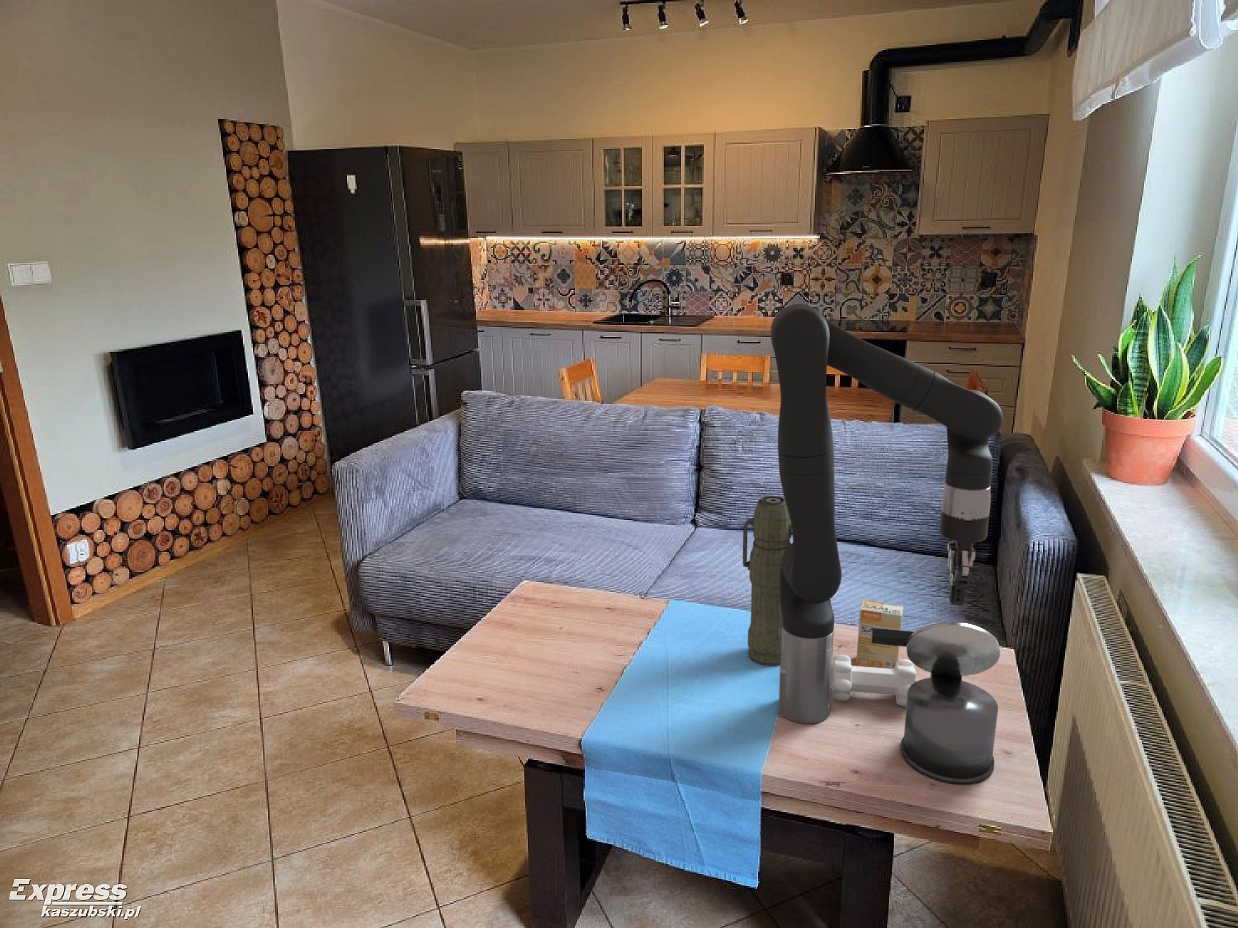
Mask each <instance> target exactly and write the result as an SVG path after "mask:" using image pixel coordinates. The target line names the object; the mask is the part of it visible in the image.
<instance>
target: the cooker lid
mask: <svg viewBox="0 0 1238 928" xmlns="http://www.w3.org/2000/svg"><path fill="white" fill-rule="evenodd" d="M872 643H873V644H884V645H894V646H900V647H906V656H907V657H908V660H910V661H911V662H912V663H913V664H914V666H916V667H917V668H919V669H921V670H923V671H925V672H928V673H930V675H938V676H947V677H957V678H962V679H963V677H966V676H974V675H977V674H980V673H983V672H985V671H987V670H990V669H991V668H993V667H994V666H995V665H996V664H997V662H998V661H999V659H1000V657H1001V656H1000V655H1001V649H1000V644H999V641H998V640H997V638H996V636H994V634H992V633H991V632H989V631H987V630H986V629H984V628H982V627H980V626H977V625H973V624H971V623H970V624H969V623H965V622H953V621H952V622H950V621H948V622H945V621H944V622H936V623H932V624H928V625H924V626H922V627H920V628H918V629H916V630H915V631H912V630H910V631H909V630H902V629H901V630H890V629H879V628H872Z"/></svg>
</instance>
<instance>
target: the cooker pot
mask: <svg viewBox="0 0 1238 928" xmlns="http://www.w3.org/2000/svg"><path fill="white" fill-rule="evenodd" d="M929 675H930V677H927V678H926V677H925V678H922V679H919V680H916V682H914V683H913V684H912V685H911V686H910V687H909V689H908V694H907V706H906V709H905V720H904V733H903V737H902V739H901V742H900V754H901V756H902V758H903V760H904V761H905V763H906V764H907V765H908V766H910V767H911V768H912V769H913V770H914V771H916V772H917V773H919V774H921V775H922V776H924V777H926V778H929V779H930V780H931V779H932V780H934V781H937V782H940V783H944V784H950V785H959V786H960V785H961V786H965V785H966V786H967V785H975V784H978V783H982V782H984V781H985V780H987V779H989V777H991V775H992V774H993V772H994V770H995V758H994V748H995V745H994V744H995V738H996V729H997V722H998V711H999V706H998V705H999V704H998V703H997V701H996V699H995V698H994V696H992V695H991V694H990V693H989V692H987V690H985V689H984V688H981V687H980V686H978V685H976V684H973V683H971V682H968V681H964V680H963V677H962V678H957V677H947V676H938V675H931V674H929Z"/></svg>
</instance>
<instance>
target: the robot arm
mask: <svg viewBox="0 0 1238 928" xmlns="http://www.w3.org/2000/svg"><path fill="white" fill-rule="evenodd" d="M770 326H771V327H770V340H771V346H772V348H773V352H774V357H775V363H776V369H777V376H778V382H779V392H780V405H779V415H778V416H779V417H778V425H777V426H778V428H777V454H778V455H777V456H778V471H779V478H780V479H779V480H780V483H781V489H782V493H783V497H784V499H785V502H786V506H787V509H788V513H789V516H790V520H791V525H792V529H791V533H792V543H791V544H790V545H789V546H788V547H787V549H786V550H785V552H784V554H783V556H782V559H781V566H780V607H781V613H782V645H781V665H780V666H779V667H780V668H779V681H778V683H779V686H778V716H779V717H785V718H787V719H789V720H790V721H792V722H795V723H800V724H817V723H821V722H823V721H825V720H826V719H827V718H828V717H829V716H830V709H831V693H832V692H831V691H832V676H833V672H832V667H833V652H834V651H833V649H834V633H835V631H834V630H835V615H834V614H835V613H834V610H833V606H832V602H831V599H832V598H833V597H834V596H835V595H836V593H837V592H838V591H839V589H840V586H841V583H842V577H843V576H842V575H843V573H842V566H841V559H840V553H839V549H838V542H837V535H836V522H835V520H836V517H835V515H836V512H835V511H836V510H835V509H836V496H835V495H836V491H835V488H836V486H835V451H834V450H835V448H834V447H835V445H834V437H833V426H832V420H831V416H830V415H831V414H830V409H829V408H830V407H829V403H828V396H827V395H828V394H827V375H828V374H827V372H828V371H827V369H828V367H831V368H833V369H835V370H837V371H839V372H841V373H843V374H845V375H847V376H849V377H850V378H852V379H854V380H856V381H858V382H859V383H861V384H863V385H864V386H865V387H867V388H869V389H871V391H872V390H873V391H874V392H876V393H877V394H879V395H881V396H883V397H885V398H887V399H888V400H891V401H893V403H894V402H895V403H897V404H898V405H901V406H903V407H905V408H907V409H910V410H912V411H914V412H916V413H919V414H922V415H925V416H927V417H929V418H931V419H933V420H934V421H936V422H938V423H939V424H941V425H943V426H945V427H946V438H947V439H946V440H947V442H946V444H947V461H946V469H945V470H946V471H945V481H944V482H945V483H944V487H943V491H942V495H941V497H942V499H941V508H940V518H939V519H940V521H939V531H938V532H939V534H940V535H941V536H942V537H944V538H945V539H947V540H949V541H948V542H947V552H948V560H947V566H948V568H947V569H948V574H949V578H948V579H949V582H950V583H949V584H950V585H949V597H948V598H949V602H950V604H951V605H952V606H963V605H964V603H965V594H966V588H969V587H970V584H971V582H972V578H973V575H974V572H975V567H974V565H973V564H974V563H973V562H974V561H975V560H976V549H974V544H975V543H980V542H982V541H984V540H986V539H987V537H988V531H989V521H990V509H991V498H992V496H991V495H992V494H991V487H992V486H991V484H992V476H993V475H992V474H993V466H994V465H993V464H994V463H993V456H992V454H991V452H990V448H989V443H990V442H989V441H990V440H989V439H990V438H991V437H993V436H994V435H996V434H997V433H998V432H999V431H1000V429H1001V427H1002V425H1003V421H1004V417H1003V411H1002V409H1001V406H1000V405H999V404H998V403H997V402H996V401H995V400H993V398H990V397H989V396H988V395H987V394H985V393H984V392H982V391H980V390H975V389H967V388H965V387H963V386H961V385H958V384H956V383H953V382H952V381H950V380H949V379H947V378H946V377H945V376H943V375H941V373H939V372H936V371H934V370H932V369H930V368H927V367H925V366H923V365H921V364H919V363H917V362H915V361H912V360H909V359H907V358H905V357H902V356H900V355H899V354H898V355H897V354H895V353H893V352H892V351H891V352H890V351H888V350H886V349H884V348H881V347H879V346H877V345H874V344H873V343H870V342H868V341H865V340H863V339H862V338H859V337H857V336H855V335H854V334H852V333H850V332H848V331H847V330H845V329H843V328H842V327H840V326H838V325H837V324H836V323H834V322H833V321H831V320H830V319H828V318H827V317H825V316H824V315H823V314H822V312H820V311H819V310H818V309H816V308H815V307H813V306H811V305H809V304H805V303H795V304H790V305H788V306H785V307H784V308H782V309H781V310H780V311H778V313H777V314H776V315H775V316H774V318H773V320H772V323H771V325H770Z"/></svg>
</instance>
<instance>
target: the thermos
mask: <svg viewBox="0 0 1238 928" xmlns="http://www.w3.org/2000/svg"><path fill="white" fill-rule="evenodd" d="M749 525H750V526H751V527H753V530H752V531H753V533H752V537H753V542H752V548H751V550H750V551H751V552H750V554H749V560H748V528H749ZM742 529H743V530H742V532H743V533H742V566H743V567H744V568H747V571H749V573H748V574H749V581H750V583H751V590H750V591H751V596H750V599H751V600H750V624H749V627H748V631H747V646H748V653H747V654H748V655H747V656H748V658H749V660H750V661H751V662H752V663H755V664H757V665H759V666H763V667H772V668H773V667H780V666H781V645H782V613H781V607H780V566H781V559H782V556H783V554H784V552H785V550H786V549H787V547H788V546H789V545H790V544H792V543H791V539H792V525H791V520H790V516H789V513H788V509H787V506H786V502H785V498H783V497H782V496H781V497H780V496H778V495H777V496H776V495H769V496H763V497H762V498H759V499H758V500H757V503H756V506H755V507H754V511H753V517H752V518H748V519H747V520H746V521H745V522H744V524H743V527H742Z"/></svg>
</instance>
